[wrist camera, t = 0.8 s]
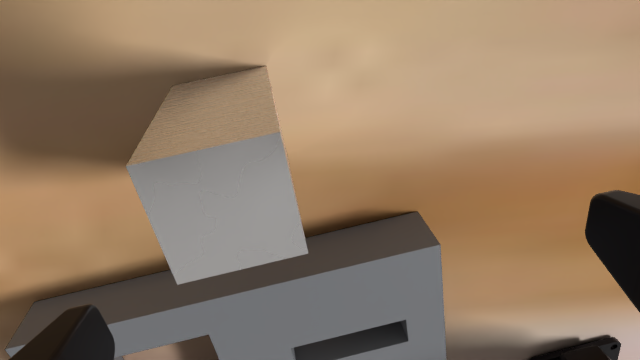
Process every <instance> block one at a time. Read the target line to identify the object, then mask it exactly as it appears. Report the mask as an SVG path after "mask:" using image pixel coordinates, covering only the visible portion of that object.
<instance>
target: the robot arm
mask: <svg viewBox="0 0 640 360" xmlns="http://www.w3.org/2000/svg"><path fill="white" fill-rule="evenodd" d="M585 235H586V239H587V241H588V243H589V245H590V247H591V248H592V249H593V251H594V252H595V253H596V255H597V256H598V257H599V259H600V260H601V261H602V263H603V264H604V265H605V267H606V268H607V269H608V271H609V272H610V274H611V275H612V276H613V278H614V279H615V280H616V282H617V283H618V284H619V286H620V287H621V288H622V290H623V291H624V292H625V294H626V295H627V296H628V298H629V299H630V300H631V302H632V303H633V304H634V306H635V307H636V308H637V309H638V311H639V312H640V195H637V194H633V193H629V192H624V191H620V190H613V191H609V192H604V193H599V194H596V195H595V196H593V198H592V199H591V201H590V206H589V212H588V217H587V223H586V229H585ZM620 347H621V343H620V342H619V341H618V340H617V339H616V338H614V337H611V338H607V339H603V340H599V341H595V342H591V343H588V344H584V345H580V346H576V347H572V348H568V349H564V350H560V351H557V352H553V353H549V354H545V355H541V356H537V357H534V358H532V359H530V360H618V356H619V351H620ZM114 355H115V342H114V338H113V335H112V333H111V332H110V330H109V328H108V326H107V324H106V322H105V320H104V318H103V316H102V314H101V313H100V311H99V309H98V308H97V307H96V306H95V305H93V304H86V305H81V306H77V307H72V308H69V309H67V310H65V311H64V312H63V313H62V314H61V315H59V316H58V317H57V318H56V319H55V320H54V321H52V322H51V323H50V324H49V325H48V326H47V327H46V328H44V329H43V330H42V331H41V332H40V333H39V334H38V335H36V336H35V337H34V338H33V339H32V340H31V341H29V342H28V343H27V344H26V345H25V346H24V347H23V348H21V349H20V350H19V351H18V352H17V353H16V354H15V355H13V356H12V357H11V358H10V359H9V360H114Z"/></svg>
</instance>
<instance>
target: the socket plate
mask: <svg viewBox="0 0 640 360" xmlns="http://www.w3.org/2000/svg"><path fill="white" fill-rule="evenodd" d="M305 239H306V244H307V249H308V254H304V255H300V256H296V257H292V258H287V259H283V260H279V261H275V262H271V263H266V264H262V265H258V266H254V267H250V268H245V269H241V270H237V271H233V272H229V273H225V274H220V275H216V276H212V277H208V278H204V279H199V280H195V281H191V282H187V283H183V284H179V285H177V283H176V280H175V278H174V276H173V274H172V271H171V270H168V271H164V272H159V273H155V274H151V275H147V276H143V277H138V278H134V279H130V280H126V281H121V282H117V283H113V284H109V285H104V286H100V287H96V288H92V289H87V290H83V291H79V292H75V293H70V294H66V295H62V296H58V297H54V298H49V299H45V300H41V301H37V302H34V303H33V305H32V306H31V308H30V310H29V311H28V313H27V314H26V316H25V318H24V319H23V321H22V322H21V324H20V326H19V327H18V329H17V331H16V332H15V334H14V335H13V337H12V339H11V340H10V342H9V343H8V345H7V347H6V348H5V350H6V352H7V353H8V354H9V356H10V357H12V356H13V355H15V354H16V353H17V352H18V351H19V350H20V349H21V348H23V347H24V346H25V345H26V344H27V343H28V342H29V341H31V340H32V339H33V338H34V337H35V336H36V335H38V334H39V333H40V332H41V331H42V330H43V329H44V328H46V327H47V326H48V325H49V324H50V323H51V322H52V321H54V320H55V319H56V318H57V317H58V316H59V315H61V314H62V313H63V312H64V311H65V310H67V309H69V308H72V307H77V306H81V305H86V304H93V305H95V306H96V307H97V308H98V309H99V311H100V313H101V314H102V316H103V318H104V320H105V322H106V324H107V326H108V328H109V330H110V332H111V333H112V335H113V338H114V342H115V355H114V360H124V359H123V357H122V356H123V355H127V354H131V353H135V352H140V351H144V350H148V349H152V348H156V347H160V346H164V345H168V344H172V343H176V342H180V341H184V340H188V339H193V338H197V337H201V336H205V335H209V336H210V339H211V341H212V343H213V346H214V348H215V351H216V353H217V355H218V358H219V360H446V341H445V322H444V303H443V284H442V265H441V246H440V243H439V242H438V240H437V239H436V237H435V236H434V234H433V233H432V232H431V230H430V229H429V227H428V226H427V224H426V223H425V221H424V220H423V218H422V217H421V215H420V214H419V213H418V212H414V213H410V214H405V215H401V216H397V217H393V218H388V219H384V220H380V221H376V222H371V223H367V224H363V225H359V226H354V227H350V228H346V229H342V230H337V231H333V232H329V233H325V234H321V235H316V236H312V237H308V238H305Z"/></svg>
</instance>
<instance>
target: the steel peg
mask: <svg viewBox="0 0 640 360" xmlns="http://www.w3.org/2000/svg"><path fill="white" fill-rule="evenodd" d="M126 168H127V170H128V172H129V175H130V177H131V179H132V182H133V184H134V186H135V188H136V191H137V193H138V195H139V198H140V200H141V202H142V205H143V207H144V209H145V211H146V214H147V216H148V218H149V221H150V223H151V225H152V228H153V230H154V232H155V234H156V237H157V239H158V241H159V244H160V246H161V248H162V251H163V253H164V255H165V257H166V260H167V262H168V264H169V267H170V269H171V271H172V274H173V276H174V278H175V280H176V283H177V285H179V284H183V283H187V282H191V281H195V280H199V279H204V278H208V277H212V276H216V275H220V274H225V273H229V272H233V271H237V270H241V269H245V268H250V267H254V266H258V265H262V264H266V263H271V262H275V261H279V260H283V259H287V258H292V257H296V256H300V255H304V254H308V249H307V244H306V239H305V235H304V230H303V226H302V221H301V216H300V212H299V207H298V203H297V198H296V193H295V189H294V184H293V179H292V175H291V170H290V166H289V161H288V156H287V152H286V147H285V143H284V139H283V135H282V130H281V126H280V122H279V117H278V113H277V109H276V104H275V100H274V96H273V92H272V87H271V83H270V79H269V74H268V70H267V66H263V67H258V68H254V69H249V70H244V71H240V72H235V73H230V74H225V75H221V76H216V77H211V78H207V79H202V80H197V81H193V82H188V83H183V84H179V85H174V86H172V87H171V89H170V91H169V93H168V94H167V96H166V98H165V100H164V101H163V103H162V105H161V106H160V108H159V110H158V112H157V113H156V115H155V117H154V119H153V120H152V122H151V124H150V125H149V127H148V129H147V131H146V132H145V134H144V136H143V137H142V139H141V141H140V143H139V144H138V146H137V148H136V150H135V151H134V153H133V155H132V156H131V158H130V160H129V162H128V163H127V165H126Z"/></svg>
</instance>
